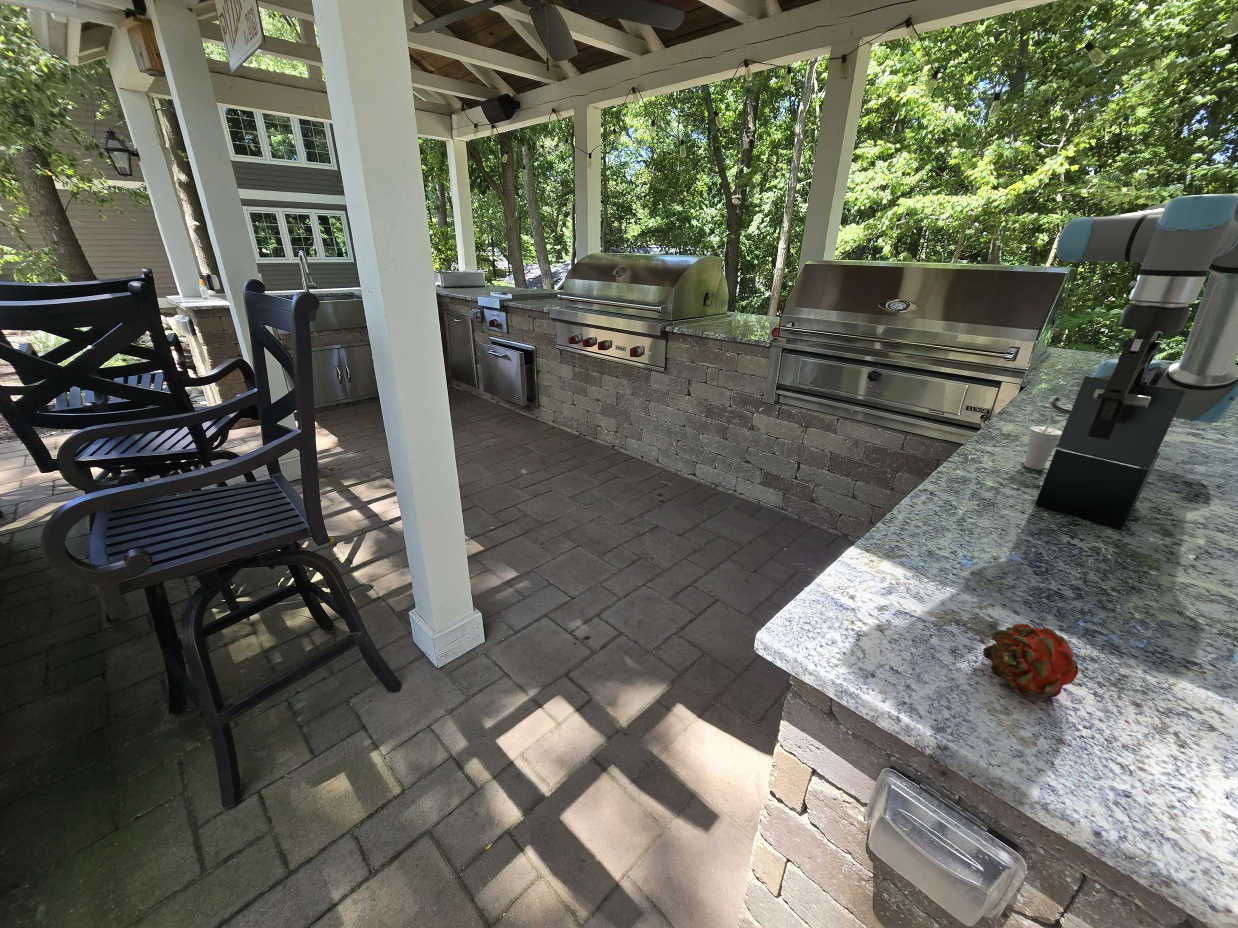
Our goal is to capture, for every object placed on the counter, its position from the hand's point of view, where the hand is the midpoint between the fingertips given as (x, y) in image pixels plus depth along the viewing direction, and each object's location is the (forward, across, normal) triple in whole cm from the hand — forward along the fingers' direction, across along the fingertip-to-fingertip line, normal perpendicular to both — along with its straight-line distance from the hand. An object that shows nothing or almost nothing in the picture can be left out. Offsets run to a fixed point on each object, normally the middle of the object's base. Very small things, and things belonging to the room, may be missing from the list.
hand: (1106, 429), depth 88 cm
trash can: (+21, -15, 0) cm, 26 cm away
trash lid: (0, -10, 0) cm, 10 cm away
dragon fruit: (+21, +50, +6) cm, 55 cm away
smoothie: (+21, -33, -13) cm, 41 cm away
